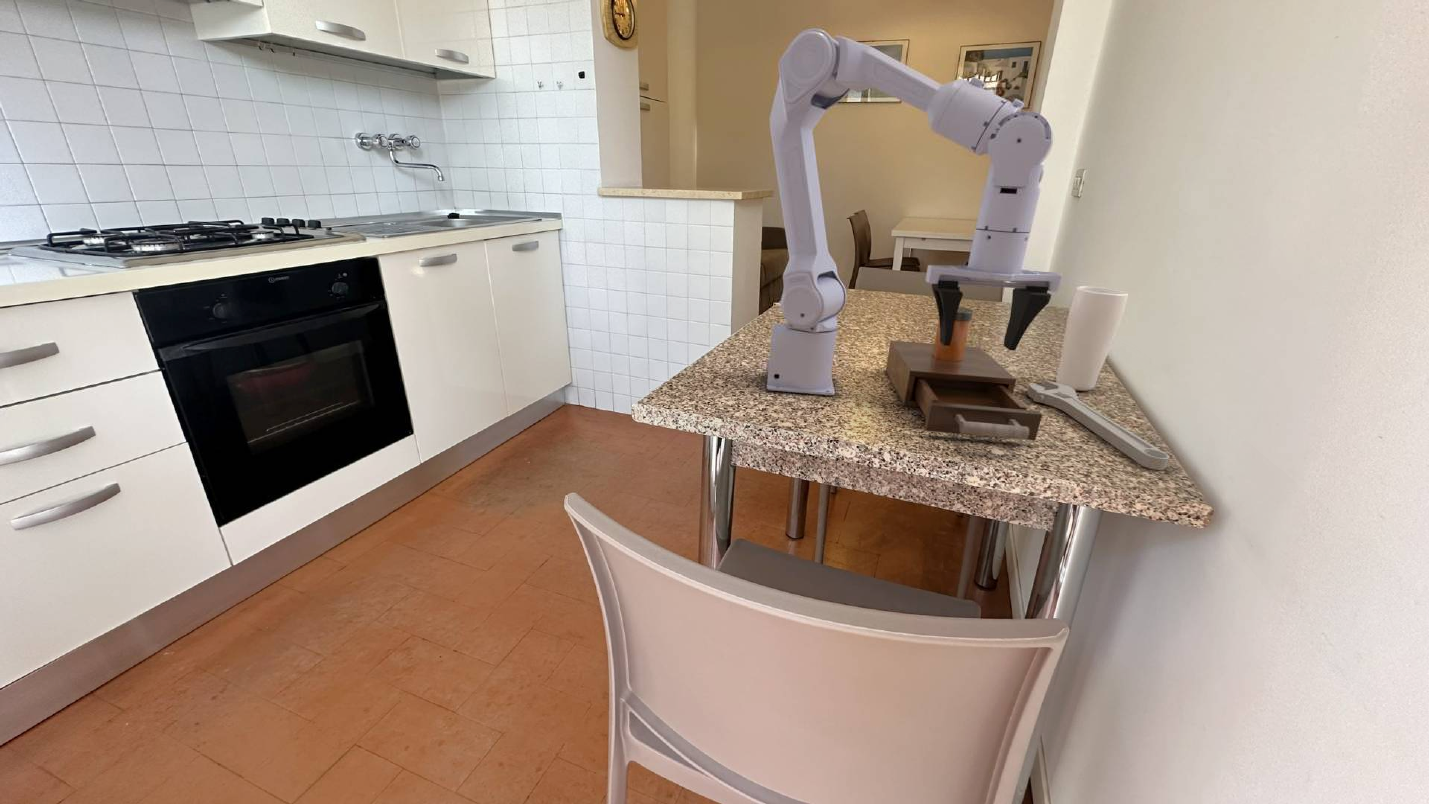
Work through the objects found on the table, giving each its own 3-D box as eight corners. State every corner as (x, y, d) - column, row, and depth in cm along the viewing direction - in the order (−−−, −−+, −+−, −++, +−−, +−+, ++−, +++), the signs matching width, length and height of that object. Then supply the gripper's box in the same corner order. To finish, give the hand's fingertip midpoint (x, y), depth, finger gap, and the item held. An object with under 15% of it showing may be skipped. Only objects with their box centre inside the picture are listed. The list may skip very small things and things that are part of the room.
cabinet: (1007, 415, 76) (1016, 379, 74) (903, 406, 78) (910, 370, 76) (972, 377, 91) (979, 346, 89) (885, 370, 92) (890, 340, 90)
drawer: (1049, 455, 63) (1057, 428, 62) (934, 445, 64) (939, 418, 63) (993, 397, 80) (999, 374, 79) (903, 389, 81) (907, 367, 80)
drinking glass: (1052, 376, 93) (1077, 284, 88) (1100, 386, 90) (1130, 290, 84) (1046, 386, 88) (1073, 289, 83) (1098, 397, 85) (1129, 296, 79)
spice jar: (934, 360, 81) (944, 311, 78) (927, 351, 85) (936, 304, 82) (967, 362, 80) (978, 313, 78) (958, 353, 85) (968, 307, 82)
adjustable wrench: (1171, 472, 63) (1177, 457, 62) (1111, 468, 63) (1116, 453, 63) (1061, 392, 86) (1064, 381, 85) (1017, 389, 86) (1020, 378, 86)
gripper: (946, 229, 62) (923, 350, 67) (1086, 237, 61) (1053, 359, 66) (930, 225, 68) (911, 335, 73) (1057, 232, 67) (1028, 343, 72)
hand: (976, 346), depth 70 cm, fingers open, 7 cm apart
